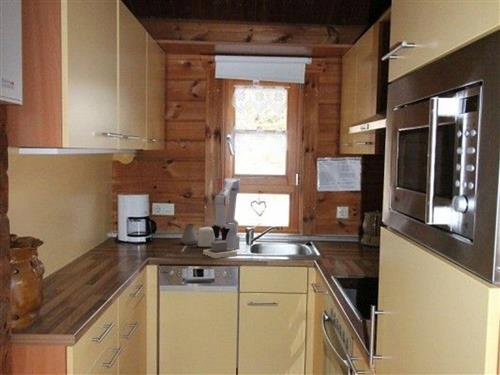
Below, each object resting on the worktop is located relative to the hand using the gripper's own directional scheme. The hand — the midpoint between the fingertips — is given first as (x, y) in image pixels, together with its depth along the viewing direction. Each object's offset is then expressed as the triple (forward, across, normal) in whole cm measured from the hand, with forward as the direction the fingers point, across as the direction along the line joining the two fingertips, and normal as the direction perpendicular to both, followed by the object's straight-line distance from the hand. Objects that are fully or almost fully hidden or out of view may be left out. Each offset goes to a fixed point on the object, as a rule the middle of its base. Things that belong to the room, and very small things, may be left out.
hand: (220, 239), depth 268 cm
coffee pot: (+10, -38, -4) cm, 39 cm away
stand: (+9, 0, 0) cm, 9 cm away
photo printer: (+10, -26, +6) cm, 28 cm away
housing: (+7, 0, -1) cm, 7 cm away
